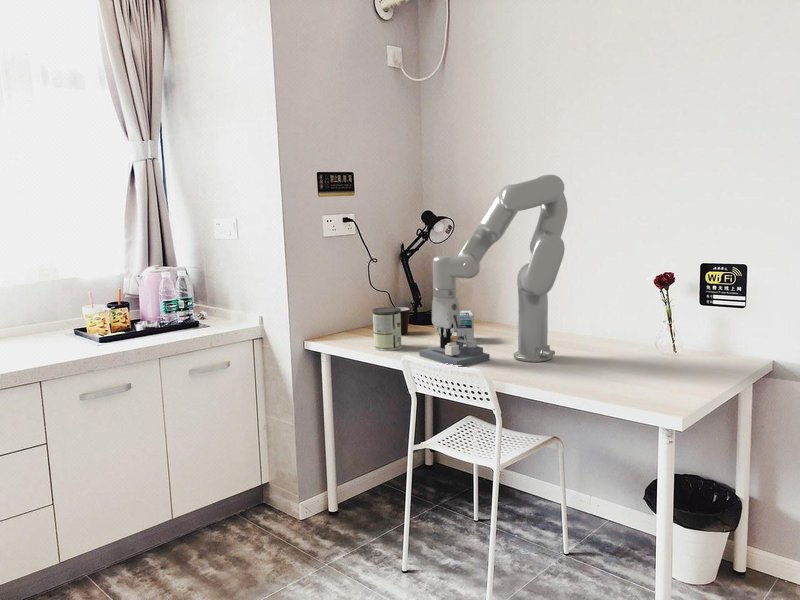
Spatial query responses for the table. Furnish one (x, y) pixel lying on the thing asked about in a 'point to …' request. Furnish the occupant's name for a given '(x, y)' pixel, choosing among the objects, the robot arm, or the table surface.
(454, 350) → the slider
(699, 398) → the table surface
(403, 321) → the coffee mug
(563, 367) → the table surface
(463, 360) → the panel
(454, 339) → the copper button
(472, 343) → the grey button
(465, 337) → the light bulb box
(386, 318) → the coffee can
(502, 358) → the table surface
